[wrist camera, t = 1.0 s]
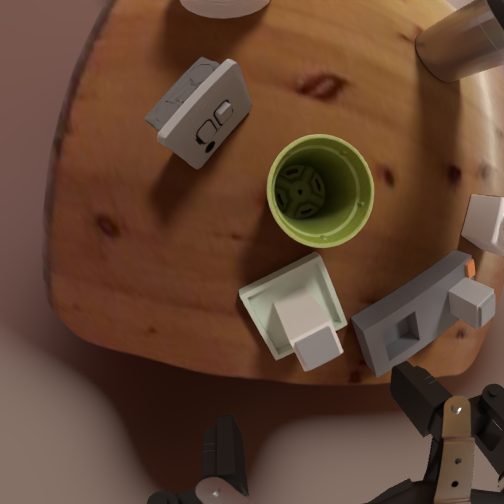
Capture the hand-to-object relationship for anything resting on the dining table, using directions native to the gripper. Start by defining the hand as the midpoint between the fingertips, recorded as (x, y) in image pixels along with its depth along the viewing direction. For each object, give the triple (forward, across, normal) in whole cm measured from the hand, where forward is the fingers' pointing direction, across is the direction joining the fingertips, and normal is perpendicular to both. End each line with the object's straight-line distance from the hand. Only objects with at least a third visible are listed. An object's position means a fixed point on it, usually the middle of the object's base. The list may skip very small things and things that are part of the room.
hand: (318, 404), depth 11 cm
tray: (+21, -3, +4) cm, 21 cm away
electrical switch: (+21, +3, -18) cm, 28 cm away
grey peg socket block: (+21, -21, +10) cm, 31 cm away
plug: (+20, -3, +4) cm, 21 cm away
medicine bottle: (+21, -36, 0) cm, 42 cm away
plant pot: (+21, -6, -9) cm, 23 cm away
